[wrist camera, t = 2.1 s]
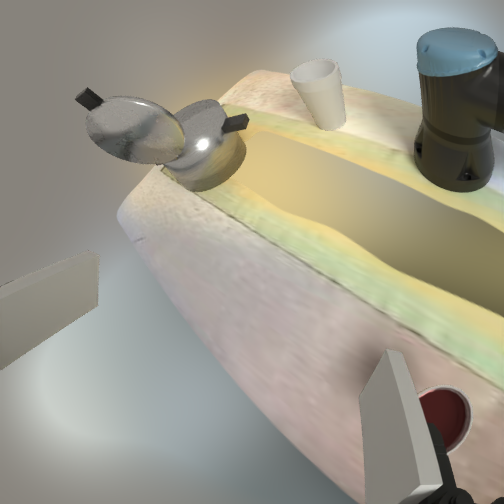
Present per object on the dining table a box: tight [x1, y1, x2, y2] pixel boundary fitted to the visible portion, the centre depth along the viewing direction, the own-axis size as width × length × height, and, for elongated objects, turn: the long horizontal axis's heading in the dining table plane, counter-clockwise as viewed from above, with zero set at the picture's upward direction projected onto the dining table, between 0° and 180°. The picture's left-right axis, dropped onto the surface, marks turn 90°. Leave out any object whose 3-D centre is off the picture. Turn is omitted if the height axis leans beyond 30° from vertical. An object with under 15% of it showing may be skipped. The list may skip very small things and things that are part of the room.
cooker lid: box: [75, 87, 185, 165], centre depth 43 cm, size 22×18×1 cm
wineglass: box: [417, 385, 473, 455], centre depth 22 cm, size 7×7×12 cm
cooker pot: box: [163, 99, 249, 192], centre depth 60 cm, size 17×26×12 cm, turn 77°
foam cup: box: [290, 59, 346, 131], centre depth 51 cm, size 10×9×13 cm
